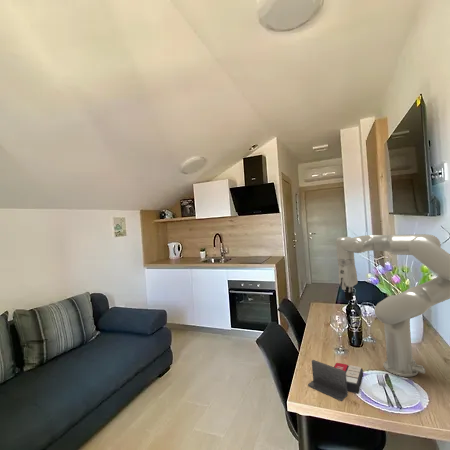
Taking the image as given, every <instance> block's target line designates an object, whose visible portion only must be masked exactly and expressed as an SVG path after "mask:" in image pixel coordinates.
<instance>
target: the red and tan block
mask: <svg viewBox="0 0 450 450" xmlns="http://www.w3.org/2000/svg"><path fill="white" fill-rule="evenodd" d="M333 367H335V368H338V369H341V370H343V371H346V379H347V391H348V393H353V394H357V395H358V394H359V393H360V389H361V384H362V381H363V378H362V377H364V371H363V368H362V367H361V366H357V365H356V366H355V365H351V364H345V363H340V362H335V364H334V366H333Z"/></svg>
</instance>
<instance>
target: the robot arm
mask: <svg viewBox="0 0 450 450" xmlns="http://www.w3.org/2000/svg"><path fill="white" fill-rule="evenodd" d="M335 243H336V245H335V246H336V255H337V265H338V283H339V286H340V287H341V290H343V292H344V299H345V300H346V301H353V300H354V286H356V285H357V284H358V283H359V282H358V275H357V274H358V273H357V268H356V261H355V254H361V253H366V252H368V251H371V252H373V251H374V252H375V251H376V252H379V251H380V252H381V251H382V252H388V253H390V254H392V255H394V256H395V255H396V256H399V255H400V256H402V255H403V256H413V257H414V258H415V259H416V260H417V261H419V263H422V264H423V266H425V267H426V268H428V269H429V270H430V271H432V272H433V273H434V274H435V275H436V276H437V277H435V278H432V279H431V280H428V281H426V282H423V283H421V284H418V285H415V286H412V287H409V288H408V289H406V290H404V291H402V292H401V293H398V294H396V295H395V294H392V295H389V296H387V297H385V298H384V299H383V300H381V301H379V302H377V304H376V305H375V308H374V315H375V317H376V318H377V320H379V322H381V323H383V325H384V328H383V329H384V339H385V350H386V360H385V361H384V362H383V368H384V370H386V372H388V373H390V374H392V373H393V374H392V375H395V374H396V375H395V376H398V375H399V376H398V377H406V378H409V377H410V378H411V377H415V376H417V375H418V374H419V373H421V374H423V375H425V374H426V368H424V365H420V364H417V363H416V359H414V357H413V348H412V333H411V319H413V318H416V317H418V316H421V315H423V314H425V312H427V311H428V310H429V309H430V308H432V307H434V306H435V305H438V304H440V303H443V302H445V301H447V300H450V253H449V252H447V251H446V250H444V249H443V248H442V247H441V241H440V239H439V238H438V237H437V236H435V235H432V234H428V233H427V234H426V233H425V234H417V233H416V234H370V235H366V234H365V235H364V234H363V235H358V236H355V237H354V236H353V237H350V236H340V237H337V238H336V240H335Z"/></svg>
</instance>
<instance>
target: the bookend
mask: <svg viewBox="0 0 450 450" xmlns="http://www.w3.org/2000/svg"><path fill="white" fill-rule="evenodd" d="M311 369H312V370H311V372H312V381H311V382H309V383H308V385H307V386H308V387H309V388H311V389H313V390H316V391H318V392H319V393H322V394H324V395H327V396H329V397H331V398H333V399H336V400H338V401H339V402H342V401H344V400H345V398H346V397H347V396H349V392H348V391H347V379H346V371H343V370H341V369H338V368H335V367H334V366H333V365H332V366H331V365H328V364H327V363H323V362H320V361H318V360H316V359H312V360H311Z"/></svg>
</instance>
